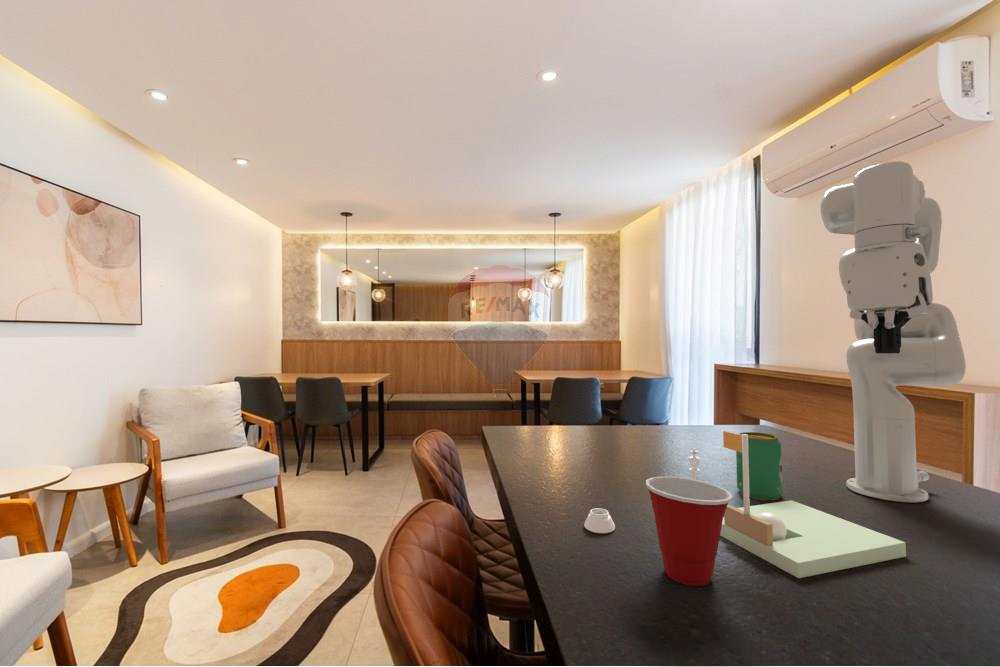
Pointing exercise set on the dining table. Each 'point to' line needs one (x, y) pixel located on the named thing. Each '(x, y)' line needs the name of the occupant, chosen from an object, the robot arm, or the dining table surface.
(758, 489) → the beverage can
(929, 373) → the robot arm
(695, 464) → the chess piece
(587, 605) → the dining table surface
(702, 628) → the dining table surface
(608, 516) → the white jar
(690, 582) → the plastic cup
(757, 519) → the green
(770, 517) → the white egg
